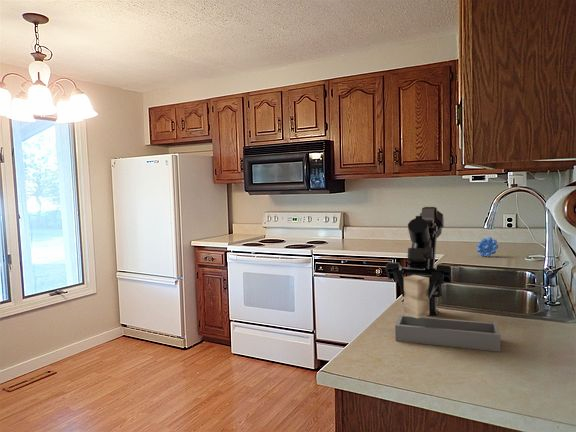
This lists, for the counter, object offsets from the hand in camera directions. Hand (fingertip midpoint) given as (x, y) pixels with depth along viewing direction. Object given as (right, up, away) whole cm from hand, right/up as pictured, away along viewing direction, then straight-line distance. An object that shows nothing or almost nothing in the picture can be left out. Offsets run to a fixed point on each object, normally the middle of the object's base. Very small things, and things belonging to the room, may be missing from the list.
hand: (415, 296), depth 119 cm
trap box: (+9, -12, 0) cm, 15 cm away
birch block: (+1, -5, +2) cm, 6 cm away
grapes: (+82, -1, +128) cm, 152 cm away
